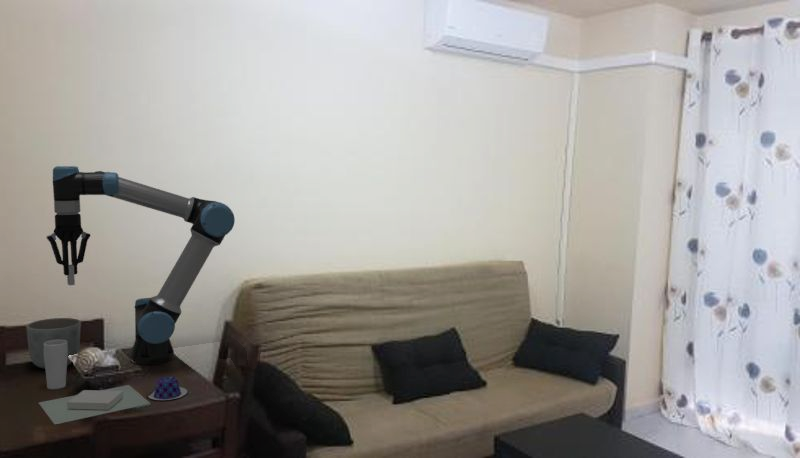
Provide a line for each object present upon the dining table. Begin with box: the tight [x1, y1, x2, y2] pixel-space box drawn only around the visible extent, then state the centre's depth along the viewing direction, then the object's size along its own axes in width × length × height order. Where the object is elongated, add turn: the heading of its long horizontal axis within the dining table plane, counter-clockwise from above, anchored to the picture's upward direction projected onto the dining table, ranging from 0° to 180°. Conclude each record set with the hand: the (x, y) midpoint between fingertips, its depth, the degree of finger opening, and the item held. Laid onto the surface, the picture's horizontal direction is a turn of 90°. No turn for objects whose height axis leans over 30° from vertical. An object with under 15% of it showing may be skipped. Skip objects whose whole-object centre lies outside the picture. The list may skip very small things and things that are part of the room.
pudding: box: [147, 376, 188, 401], centre depth 198 cm, size 12×12×5 cm
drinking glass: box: [44, 340, 68, 390], centre depth 200 cm, size 7×7×15 cm
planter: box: [25, 317, 82, 369], centre depth 222 cm, size 17×17×15 cm
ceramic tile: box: [67, 389, 123, 410], centre depth 188 cm, size 2×10×12 cm
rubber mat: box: [38, 384, 152, 425], centre depth 188 cm, size 26×20×1 cm
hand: (71, 284), depth 207 cm, fingers closed
